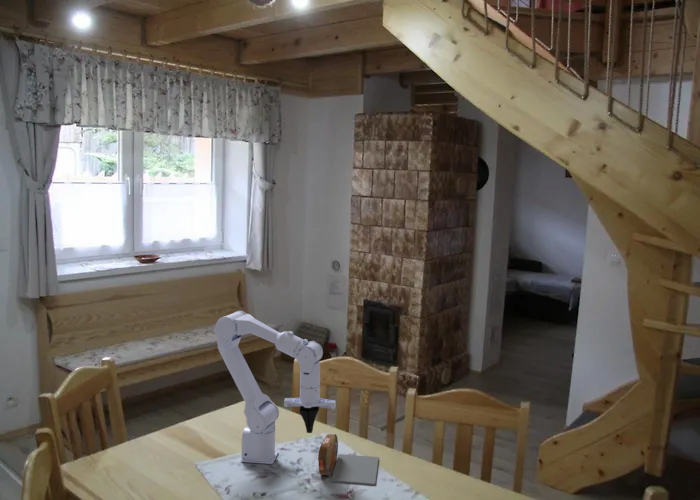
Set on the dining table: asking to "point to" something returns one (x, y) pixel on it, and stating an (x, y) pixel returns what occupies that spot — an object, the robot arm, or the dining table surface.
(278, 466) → the dining table surface
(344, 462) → the mat
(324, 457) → the tin
